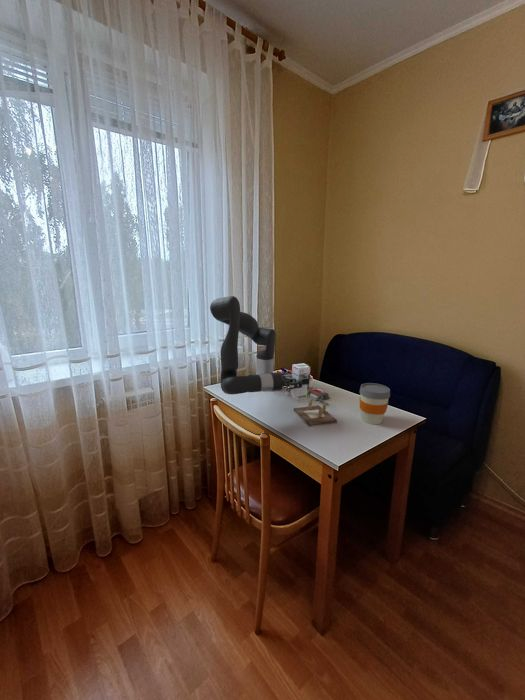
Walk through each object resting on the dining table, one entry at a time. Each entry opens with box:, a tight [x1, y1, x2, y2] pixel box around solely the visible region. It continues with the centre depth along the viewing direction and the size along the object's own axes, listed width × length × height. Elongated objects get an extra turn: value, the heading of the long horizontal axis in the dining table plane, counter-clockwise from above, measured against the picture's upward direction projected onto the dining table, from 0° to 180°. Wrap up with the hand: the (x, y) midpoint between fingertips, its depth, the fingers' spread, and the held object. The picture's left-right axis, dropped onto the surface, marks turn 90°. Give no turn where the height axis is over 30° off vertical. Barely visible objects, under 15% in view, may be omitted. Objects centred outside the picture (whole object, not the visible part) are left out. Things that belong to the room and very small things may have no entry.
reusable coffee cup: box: [358, 382, 391, 425], centre depth 139 cm, size 13×13×15 cm
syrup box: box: [290, 363, 311, 401], centre depth 137 cm, size 6×6×14 cm
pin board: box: [293, 399, 338, 427], centre depth 142 cm, size 16×13×6 cm
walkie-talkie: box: [308, 386, 330, 406], centre depth 163 cm, size 9×4×20 cm
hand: (305, 379), depth 138 cm, fingers closed on syrup box, 6 cm apart
